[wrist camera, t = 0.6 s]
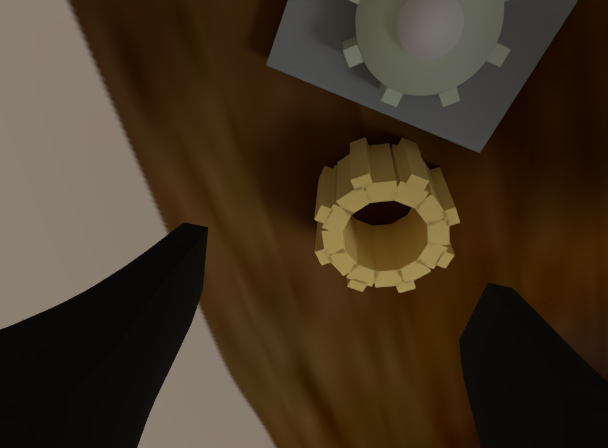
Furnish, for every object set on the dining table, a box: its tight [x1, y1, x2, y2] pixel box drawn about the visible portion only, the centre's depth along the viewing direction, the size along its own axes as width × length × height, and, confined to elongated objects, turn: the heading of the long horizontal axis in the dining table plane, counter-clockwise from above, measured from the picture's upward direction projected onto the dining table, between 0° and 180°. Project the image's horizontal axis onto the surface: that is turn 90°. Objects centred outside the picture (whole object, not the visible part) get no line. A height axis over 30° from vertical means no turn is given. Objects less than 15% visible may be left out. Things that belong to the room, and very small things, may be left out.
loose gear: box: [314, 137, 460, 293], centre depth 20 cm, size 6×6×4 cm
